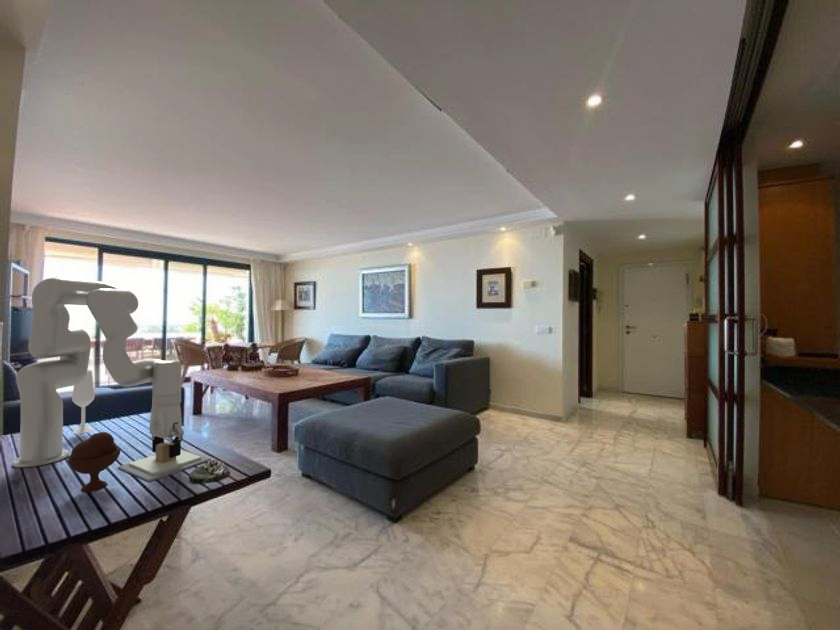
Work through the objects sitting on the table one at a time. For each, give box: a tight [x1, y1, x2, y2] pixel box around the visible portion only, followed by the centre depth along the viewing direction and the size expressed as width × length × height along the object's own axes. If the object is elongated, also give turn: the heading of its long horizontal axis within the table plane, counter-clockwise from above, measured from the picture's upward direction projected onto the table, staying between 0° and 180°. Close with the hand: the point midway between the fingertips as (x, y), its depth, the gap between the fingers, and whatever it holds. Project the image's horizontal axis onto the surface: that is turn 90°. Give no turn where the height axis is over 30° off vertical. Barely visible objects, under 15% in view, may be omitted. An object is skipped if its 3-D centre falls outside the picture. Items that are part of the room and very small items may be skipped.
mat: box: [117, 448, 212, 483], centre depth 116 cm, size 18×18×1 cm
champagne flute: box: [71, 369, 96, 435], centre depth 146 cm, size 7×7×24 cm
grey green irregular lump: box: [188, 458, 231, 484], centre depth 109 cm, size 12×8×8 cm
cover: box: [129, 440, 201, 476], centre depth 116 cm, size 14×14×6 cm
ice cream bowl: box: [66, 431, 122, 493], centre depth 100 cm, size 11×11×15 cm
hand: (166, 453), depth 116 cm, fingers open, 9 cm apart
